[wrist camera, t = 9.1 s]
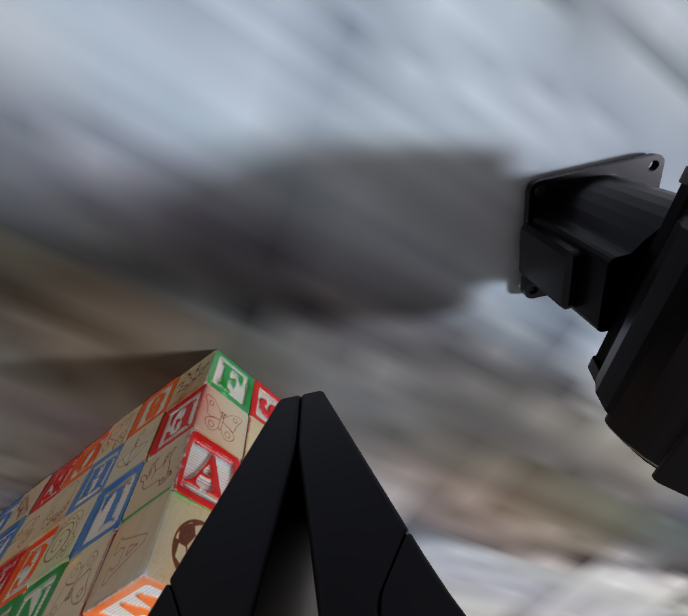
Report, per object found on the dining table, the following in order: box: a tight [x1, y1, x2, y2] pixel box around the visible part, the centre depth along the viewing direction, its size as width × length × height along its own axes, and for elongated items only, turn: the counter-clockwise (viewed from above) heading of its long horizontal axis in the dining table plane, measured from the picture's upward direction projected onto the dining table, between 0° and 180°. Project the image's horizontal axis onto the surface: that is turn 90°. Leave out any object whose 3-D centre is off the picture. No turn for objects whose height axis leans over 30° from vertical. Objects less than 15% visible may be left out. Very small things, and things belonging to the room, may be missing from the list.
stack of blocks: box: [0, 350, 280, 616], centre depth 21 cm, size 21×6×12 cm, turn 127°
